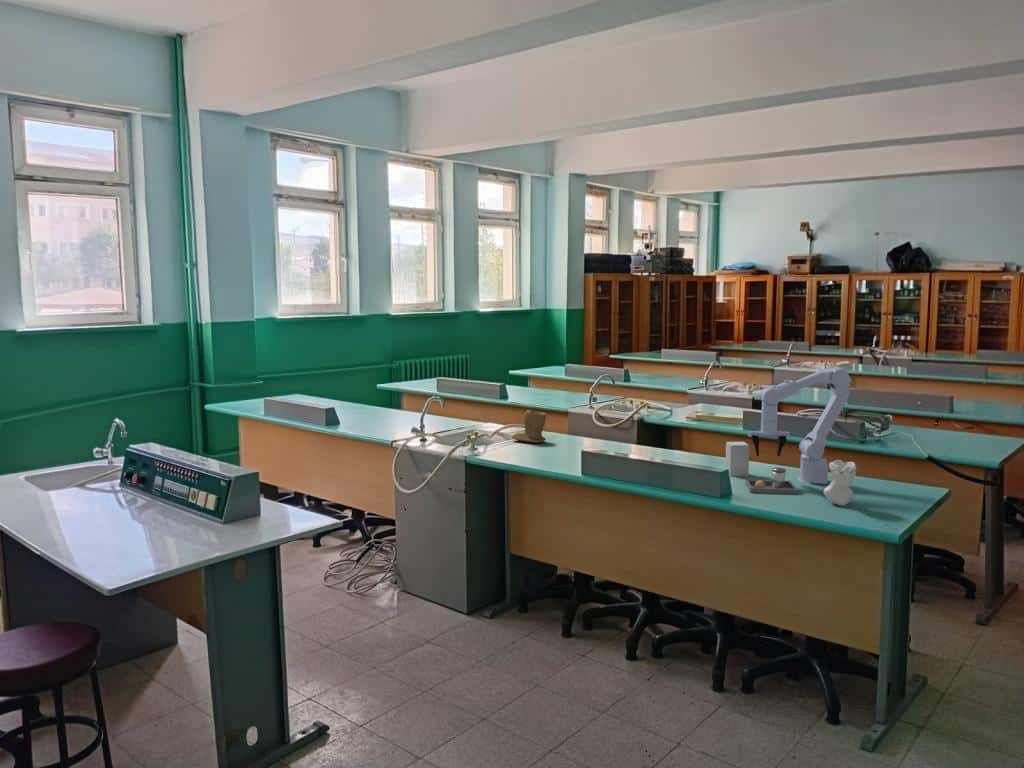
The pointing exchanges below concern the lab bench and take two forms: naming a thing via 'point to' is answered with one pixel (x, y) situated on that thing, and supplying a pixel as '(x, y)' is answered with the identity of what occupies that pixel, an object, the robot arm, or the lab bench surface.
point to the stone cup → (532, 427)
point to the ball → (760, 484)
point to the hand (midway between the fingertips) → (767, 455)
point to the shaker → (778, 477)
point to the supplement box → (737, 458)
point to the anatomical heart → (841, 482)
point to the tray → (770, 487)
